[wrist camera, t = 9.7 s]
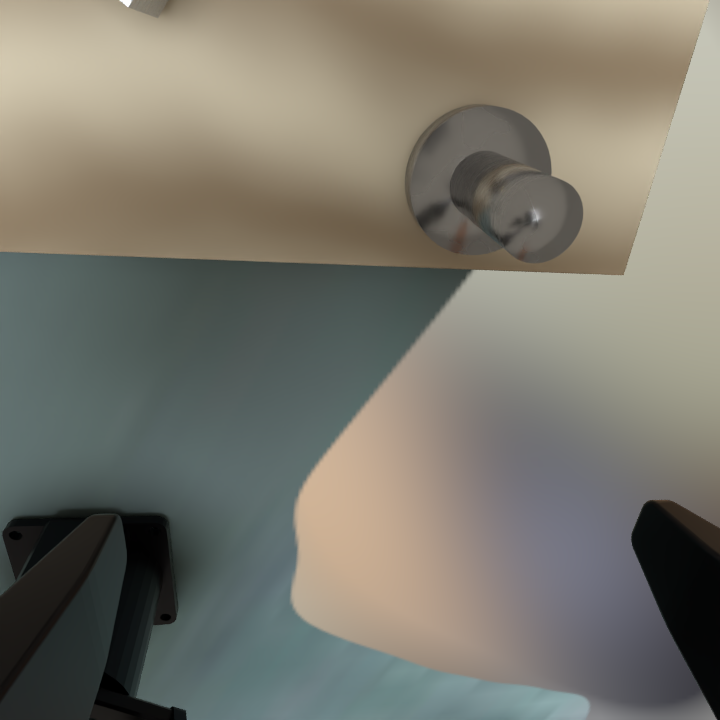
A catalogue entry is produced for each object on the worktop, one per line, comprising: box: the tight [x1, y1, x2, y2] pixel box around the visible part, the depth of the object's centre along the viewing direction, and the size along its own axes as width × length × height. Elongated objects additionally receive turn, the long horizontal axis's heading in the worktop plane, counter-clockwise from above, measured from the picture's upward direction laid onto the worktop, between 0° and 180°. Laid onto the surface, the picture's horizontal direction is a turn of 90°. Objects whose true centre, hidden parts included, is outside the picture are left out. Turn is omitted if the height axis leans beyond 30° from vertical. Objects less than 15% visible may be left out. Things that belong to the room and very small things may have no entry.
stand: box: [405, 104, 583, 263], centre depth 15 cm, size 4×4×6 cm
